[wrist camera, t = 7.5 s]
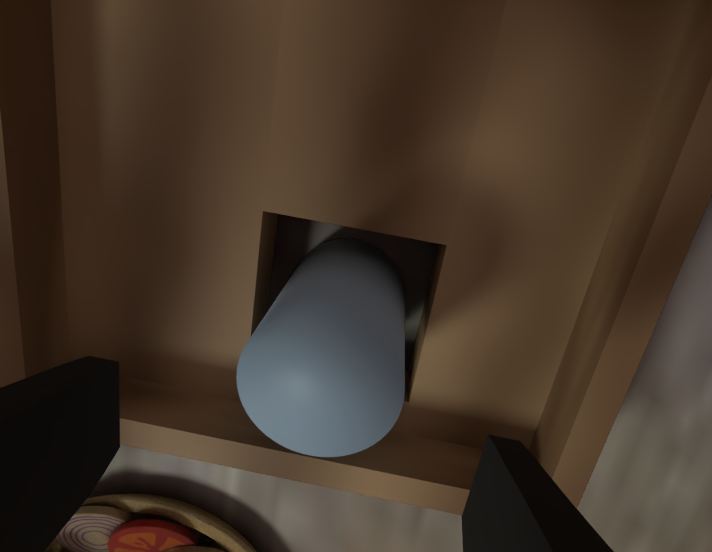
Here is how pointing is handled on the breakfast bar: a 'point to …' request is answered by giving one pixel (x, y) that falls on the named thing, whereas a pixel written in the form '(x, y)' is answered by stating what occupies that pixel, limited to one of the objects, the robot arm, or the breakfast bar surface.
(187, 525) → the toy sandwich meal
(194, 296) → the box with square hole
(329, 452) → the peg
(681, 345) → the breakfast bar surface
